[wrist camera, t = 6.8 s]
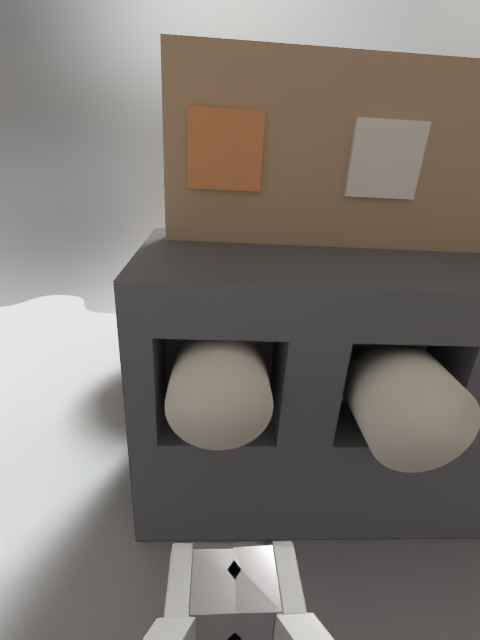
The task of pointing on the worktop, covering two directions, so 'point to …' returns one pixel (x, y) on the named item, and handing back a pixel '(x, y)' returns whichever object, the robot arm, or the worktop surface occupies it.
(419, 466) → the middle button
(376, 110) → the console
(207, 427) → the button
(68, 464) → the worktop surface
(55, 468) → the worktop surface
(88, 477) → the worktop surface
